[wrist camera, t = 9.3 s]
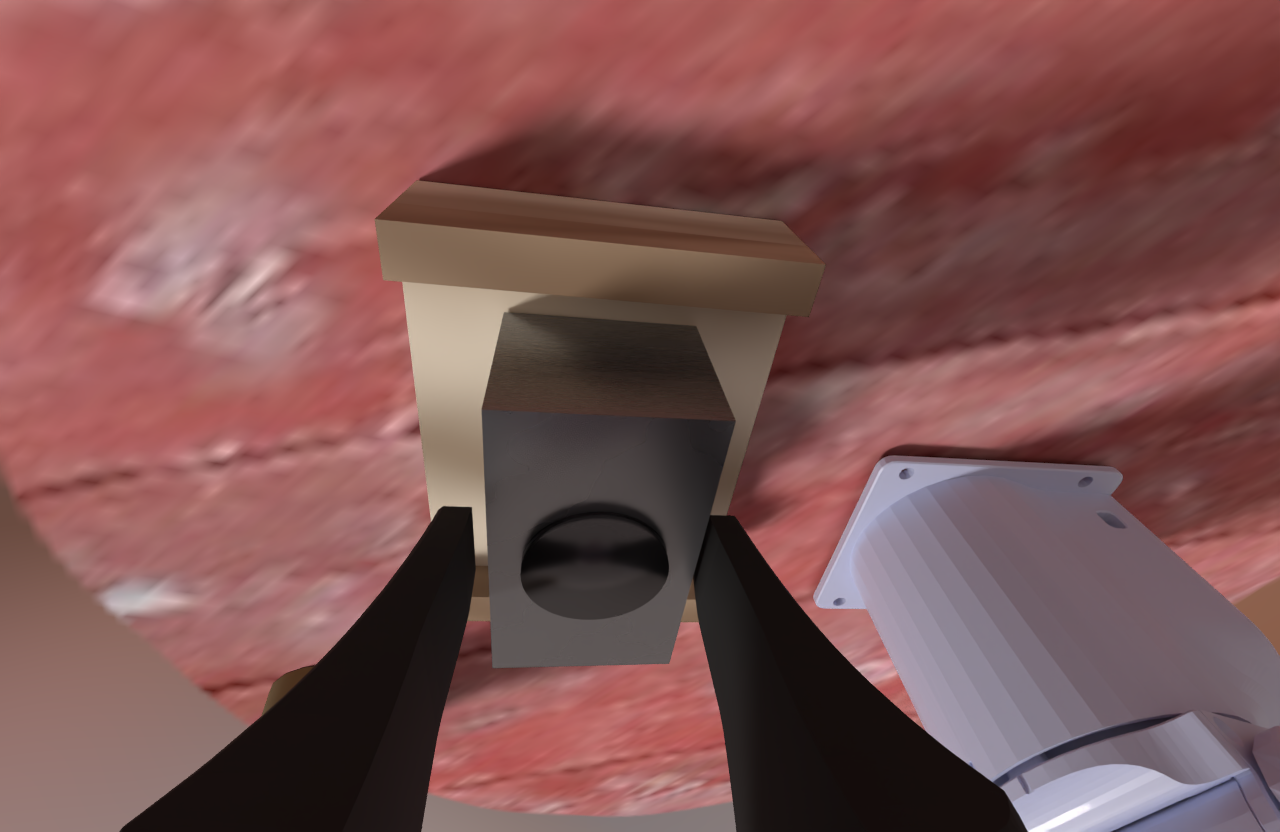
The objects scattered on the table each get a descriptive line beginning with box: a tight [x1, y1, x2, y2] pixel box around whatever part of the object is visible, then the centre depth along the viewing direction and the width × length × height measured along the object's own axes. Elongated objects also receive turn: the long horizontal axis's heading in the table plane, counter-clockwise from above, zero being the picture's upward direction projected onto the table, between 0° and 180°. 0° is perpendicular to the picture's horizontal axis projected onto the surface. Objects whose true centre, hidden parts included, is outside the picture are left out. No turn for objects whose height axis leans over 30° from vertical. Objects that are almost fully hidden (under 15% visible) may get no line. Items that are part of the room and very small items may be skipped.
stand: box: [375, 180, 826, 622], centre depth 16 cm, size 12×9×3 cm
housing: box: [481, 312, 736, 668], centre depth 14 cm, size 8×5×4 cm, turn 173°
